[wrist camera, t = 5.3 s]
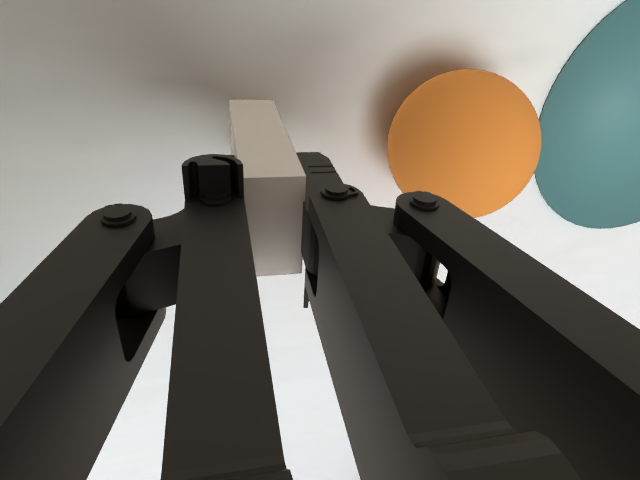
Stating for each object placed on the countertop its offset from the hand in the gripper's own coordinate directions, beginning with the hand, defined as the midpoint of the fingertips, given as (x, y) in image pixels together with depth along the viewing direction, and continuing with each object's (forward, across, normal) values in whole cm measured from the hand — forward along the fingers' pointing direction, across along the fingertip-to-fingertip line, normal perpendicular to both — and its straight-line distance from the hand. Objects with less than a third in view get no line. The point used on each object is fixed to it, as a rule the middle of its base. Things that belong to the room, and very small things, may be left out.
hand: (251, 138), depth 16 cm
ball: (-1, +8, 0) cm, 8 cm away
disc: (+2, +19, 0) cm, 19 cm away
